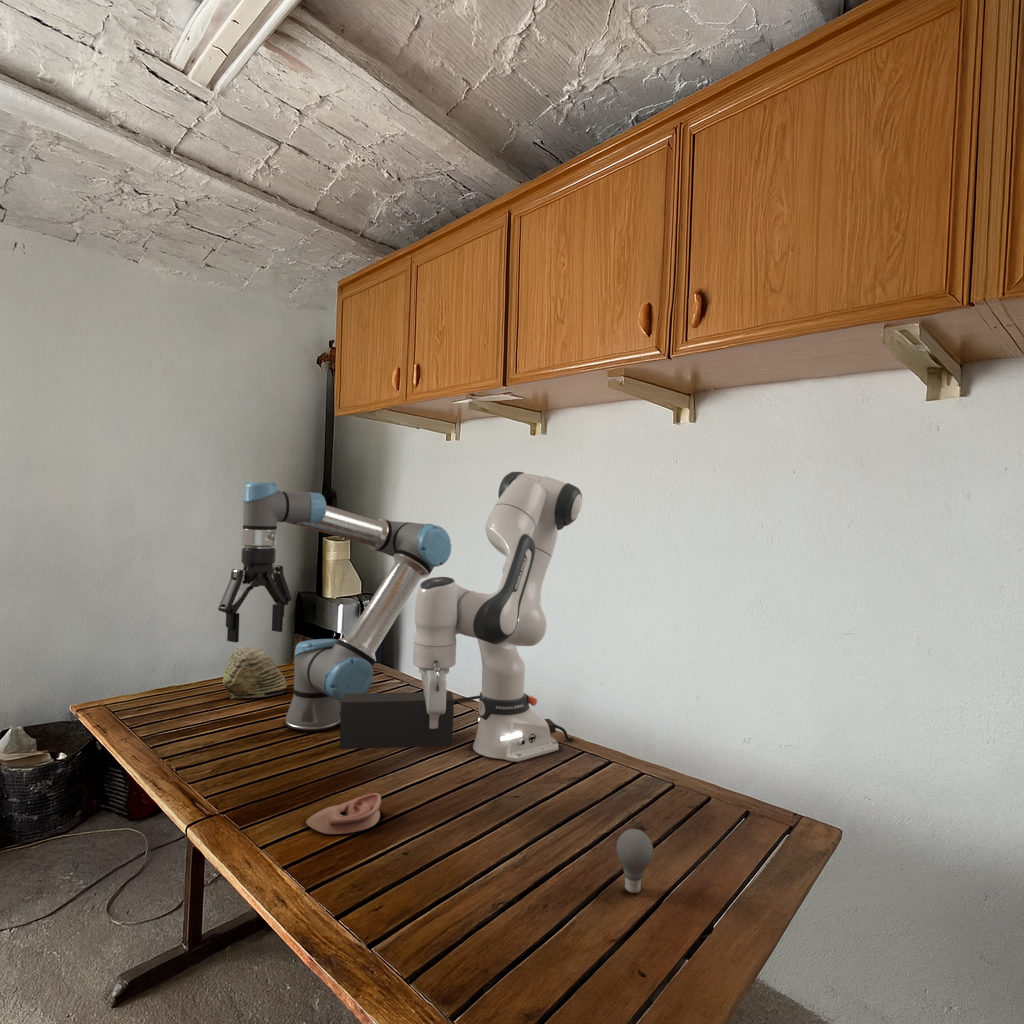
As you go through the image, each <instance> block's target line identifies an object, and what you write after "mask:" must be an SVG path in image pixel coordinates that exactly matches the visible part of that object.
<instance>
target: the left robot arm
mask: <svg viewBox="0 0 1024 1024" xmlns="http://www.w3.org/2000/svg"><path fill="white" fill-rule="evenodd" d="M242 504H243V507H242V534H241V535H242V536H241V545H242V546H244V547H242V549H241V563H242V565H243V568H242V569H237V568H232V569H231V572H230V579H229V582H228V584H227V586H226V588H225V591H224V593H223V595H222V598H221V601H220V602H219V605H218V608H217V609H218V611H219V612H222V613H225V626H226V628H227V630H226V632H227V633H226V642H231V643H239V639H240V638H239V637H240V635H239V634H240V614H241V613H240V612H238V610H239V609H240V608H241V606H242V604H243V603H244V602H245V600H246V598H247V597H248V595H249V593H250V592H251V591H252V590H253V589H254V588H260V587H264V588H265V590H266V591H267V592H268V594H269V595H270V597H271V599H272V600H273V601H274V602H275V604H272V611H271V614H272V615H271V631H272V632H278V633H282V632H283V627H284V626H283V625H284V623H283V622H284V617H285V606H288V605H289V603H290V602H291V601H292V595H291V593H290V592H291V591H290V589H289V586H288V584H287V581H286V578H285V575H284V566H283V565H280V564H279V565H278V564H276V558H277V557H276V555H277V549H276V548H275V546H276V545H277V529H278V523H287V524H290V525H294V526H298V527H302V528H306V529H310V530H312V531H316V532H319V533H323V534H328V535H332V536H335V537H337V538H343V539H346V540H349V541H353V542H357V543H360V544H363V545H368V546H369V548H370V549H371V550H373V551H376V552H379V553H383V554H384V555H388V556H390V557H391V558H392V557H393V560H394V564H393V565H392V567H391V568H390V570H389V571H388V573H387V575H386V576H385V577H384V580H383V581H381V583H380V585H379V587H378V588H377V590H376V591H375V593H374V594H373V596H372V597H371V599H370V600H369V602H368V604H367V605H366V607H365V608H364V610H363V611H362V613H361V615H360V616H359V618H358V619H357V621H356V622H355V624H354V625H353V627H352V628H351V630H350V631H349V632H348V635H346V636H344V637H343V636H342V637H340V638H338V639H336V638H319V639H308V640H303V641H300V642H297V644H296V645H295V650H294V655H293V657H294V672H293V695H292V696H293V697H292V699H291V702H290V704H289V707H288V709H287V713H286V715H285V726H286V728H287V729H289V730H291V731H294V732H295V731H296V732H301V733H316V732H325V731H329V730H332V729H335V728H337V727H339V726H340V721H341V701H342V697H343V694H357V693H368V691H369V690H370V688H371V686H372V684H373V681H374V675H373V674H374V669H373V667H374V665H375V664H376V662H377V657H376V653H377V650H378V648H379V647H380V645H381V643H382V642H383V640H384V639H385V637H386V635H387V634H388V632H389V631H390V630H391V627H392V626H393V624H394V623H395V621H396V619H397V618H398V616H399V615H400V613H401V612H402V610H403V608H404V606H405V605H406V603H407V602H408V600H409V598H410V597H411V595H412V593H413V592H414V591H415V589H416V587H417V585H418V584H419V583H420V581H421V579H425V578H429V576H430V575H431V573H432V572H433V570H434V568H436V567H440V566H443V565H444V564H446V563H447V561H448V560H449V558H450V556H451V552H452V544H451V538H450V537H451V536H450V534H449V533H448V532H447V531H446V529H444V528H443V527H442V526H439V525H436V524H433V523H418V522H411V521H409V522H408V521H394V520H388V519H384V518H378V519H373V518H370V517H367V516H364V515H359V514H357V513H353V512H350V511H348V510H343V509H341V508H337V507H334V506H330V505H328V504H327V501H326V498H325V496H324V495H323V494H321V493H320V492H312V491H309V492H307V491H284V490H283V491H282V490H279V484H278V483H277V482H264V481H262V482H261V481H248V482H246V483H245V486H244V490H243V499H242ZM479 698H480V695H474V696H468V697H467V696H466V697H459V698H455V699H454V704H456V703H459V702H465V701H472V700H473V701H474V700H478V699H479Z"/></svg>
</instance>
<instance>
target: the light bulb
mask: <svg viewBox="0 0 1024 1024" xmlns="http://www.w3.org/2000/svg"><path fill="white" fill-rule="evenodd" d="M615 849H616V854H617V857H618V859H619V861H620V863H621V865H622V867H623V873H624V874H623V875H624V876H625V878H624V888H625V890H627V891H628V892H630V893H634V894H635V893H639V892H640V891H641V889H642V887H641V886H642V879H643V877H644V875H645V871H646V868H647V867H648V866H649V864H650V863H651V861H652V859H653V855H654V847H653V843H652V841H651V838H649V836H648V835H647V834H646V833H645V832H643V831H642V830H641V829H636V828H629V829H627V830H625V831H623V832H622V833H621V834H620V835H619V837H618V839H617V841H616V847H615Z"/></svg>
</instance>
